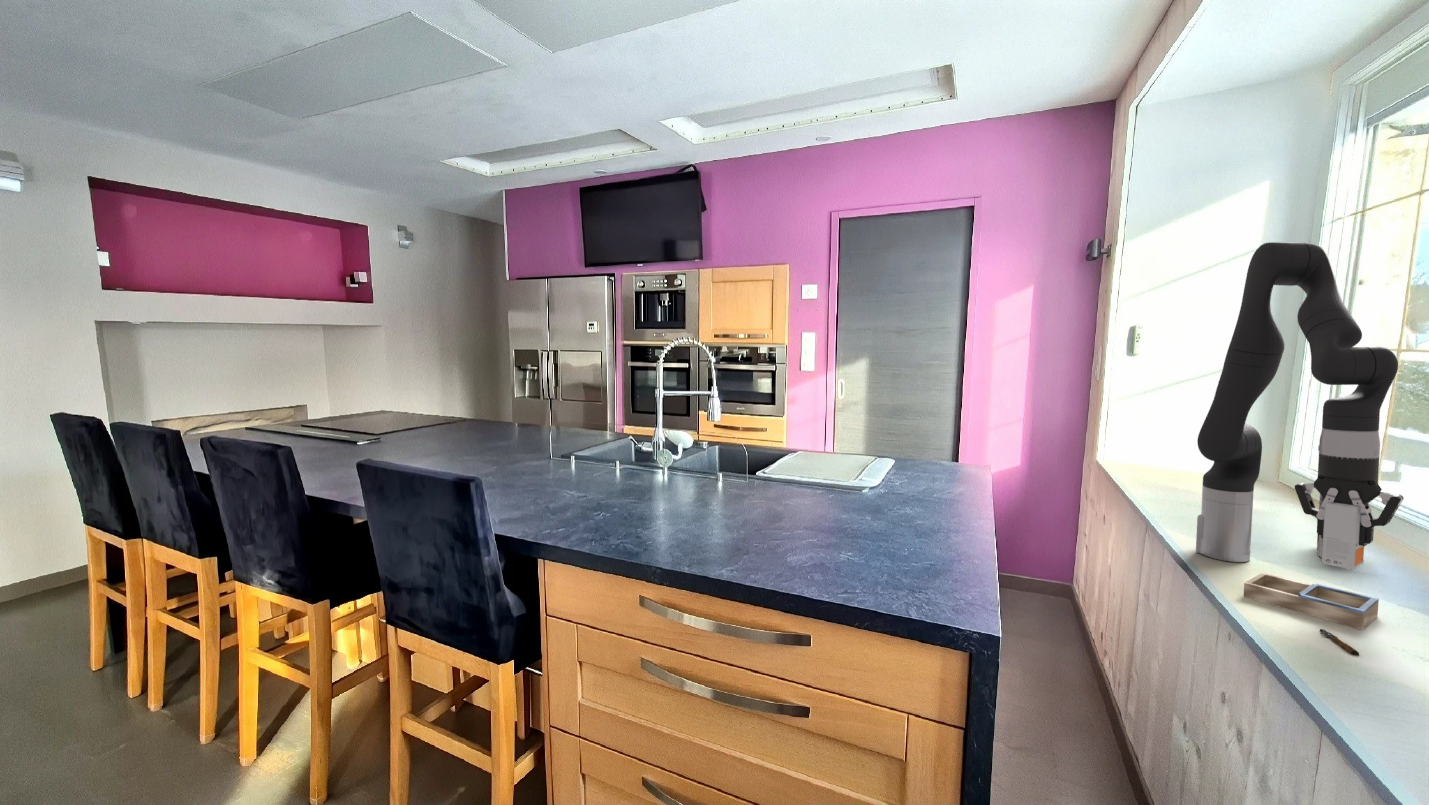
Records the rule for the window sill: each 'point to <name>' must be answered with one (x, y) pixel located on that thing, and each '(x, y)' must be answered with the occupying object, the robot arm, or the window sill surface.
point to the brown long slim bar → (1340, 643)
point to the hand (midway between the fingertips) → (1343, 541)
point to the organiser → (1313, 600)
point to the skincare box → (1342, 536)
